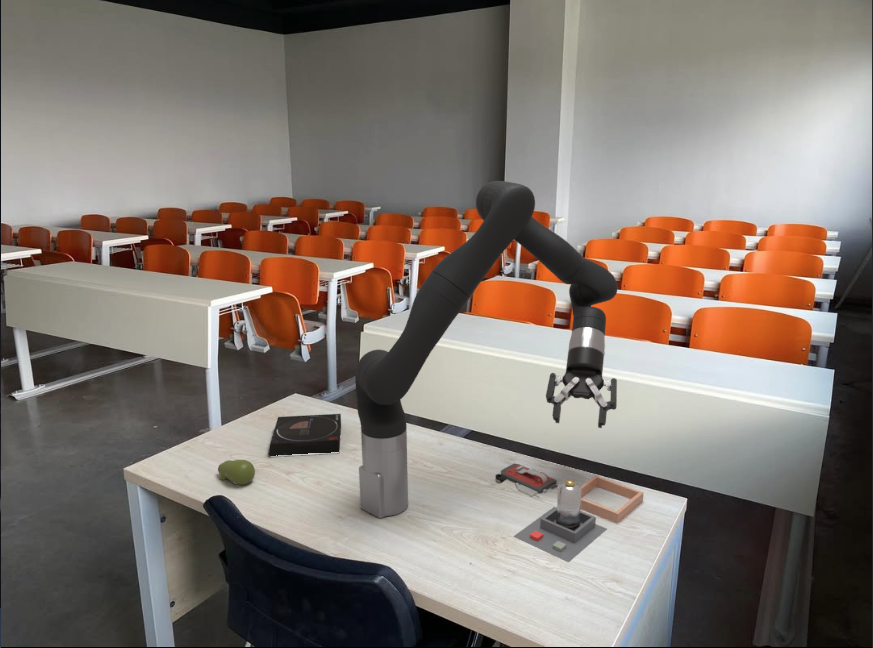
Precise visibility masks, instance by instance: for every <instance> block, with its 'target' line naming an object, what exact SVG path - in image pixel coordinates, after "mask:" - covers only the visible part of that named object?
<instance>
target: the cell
mask: <svg viewBox="0 0 873 648" xmlns="http://www.w3.org/2000/svg"><path fill="white" fill-rule="evenodd" d="M582 485H583V484H581V482H579V481H578V480H574V479H572V478H567V479H561V480H560V481H558V482H557V500H556V501H557V502H556V503H557V504H556V507H557V518H556V524H559V525H561V526H563V527H566V528H568V529H570V530H573V531H575V530H576V529H577V528H579V527H580V511H581V510H582V509H581V498H582V497H581V491H582Z"/></svg>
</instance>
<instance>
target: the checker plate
mask: <svg viewBox="0 0 873 648" xmlns="http://www.w3.org/2000/svg"><path fill="white" fill-rule="evenodd" d="M556 518H557V506H556V507H555V506H553V507H552V508H551V509H548V511H546V512H545V513H543V514H542V515H541V516H539V517H538V518H536V519H535V520H534V521H532V522H531V523H530V524H528V525H527V526H526V527H524V528H523V529H521V530H520V531H519V532H518V533H516V534H515V535H513V536H512V537H514V538H516V539H518V540H520V541H522V542H524V543H527V544H528V545H531V546H533V547H535V548H537V549H539V550H541V551H543V552H546V553H548V554H550V555H552V556H553V557H556V558H558V559H560V560H563V561H564V562H566V563H570V562H571V561H572V560H573V559H574V558H576V556H578V555H579V554H580V553H581V552H583V551H584V550H585V549H586V548H588V546H589V545H591V544H592V543H594V541H595V540H596V539H598V538H599V537H600V536H601V535H602V534H603V533H605V532H606V531H607V530H608V528H606V527H603V526H602V525H599V524H597V523H596V520H597V517H596V516H594V515H593V514H589V513H588V512H585V511H583V510H580V527H579V528H577V529H576V530H575V531H573V530H570V529H568V528H566V527H563V526H561V525H559V524H556Z"/></svg>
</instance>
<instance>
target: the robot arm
mask: <svg viewBox="0 0 873 648" xmlns="http://www.w3.org/2000/svg"><path fill="white" fill-rule="evenodd" d="M475 207H476V210H477V211H476V212H477V213H478V215H479V217H480V218H481V219H482V220H483V222H482V223H481V225H480V226H479V228H478V229H477V230H476V231H475V232H474V233H473V234H472V236H471V237H470V238H468V239H467V240H466V241H465V242H464V243H463V244H461V245H460V246H459V247H456V248H455V250H453V251H451V252H450V253H449V254H448V255H446V256H445V257H444V258H443V259H441V260H440V261H439V262H438V263H437V264H436V266H434V268H433V269H432V270H431V272H430V273H429V275H428V276H427V278H426V279H425V280H424V282H423V283H422V285H421V286H420V287H419V289H418V290H417V293H416V294H415V297H414V299H413V303H412V305H411V308H410V311H409V314H408V318H407V322H406V325H405V326H404V329H403V331H402V333H400V336H399V337H398V339H397V340H396V341H395V343H394V344H393V345H392V347H391V349H389V351H387V350H385V349H373V350H370V351H368V352H366V353H364V354H363V356H362V357H360V359H359V361H358V363H357V364H356V368H355V375H354V376H355V377H354V378H355V383H354V384H355V396H356V397H355V398H356V409H357V415H358V418H359V422H360V431H361V432H360V436H361V437H360V438H361V461H362V463H361V464H362V465H360V466H359V467H358V481H359V482H358V483H359V502H360V509H361V510H364V511H365V512H367V513H369V514H371V515H373V516H375V517H376V518H379V519H382V518H384V517H389V516H391V517H392V516H394V515H395V516H396V515H399V514H401V513H403V512H404V511H405V510H406V509H407V507H408V506H409V481H408V477H409V476H408V473H409V472H408V443H407V442H408V437H407V434H408V431H407V417H406V413H405V411H404V408H403V405H402V399H403V398H404V397H405V396H406V395H407V393H408V392H409V391H410V389H411V387H412V385H413V384H414V382H415V380H416V379H417V377H418V376H419V373H420V372H421V371H422V368H423V366H424V364H425V363H426V360H427V359H428V358H429V356H430V354H431V353H432V351H433V350H434V348H435V347H436V346H437V345H438V343H439V341H440V340H441V338H442V337H443V336H444V335H445V333H446V331H447V330H448V328H449V327H450V325H452V323H453V321H454V320H455V319H456V317H457V316H458V315H459V314H460V312H462V310H463V308H464V307H465V306H466V304H467V303H468V301H469V299H471V297H472V295H473V294H474V293H475V291H476V289H477V288H478V286H479V285H480V284H481V282H482V281H483V280H484V278H485V277H486V276H487V274H488V272H490V270H491V268H492V267H493V266H494V264H495V263H496V262H497V260H498V259H499V258H500V257H501V255H502V254H503V252H504V251H506V249H507V248H508V247H509V246H510V245H511V244H512V242H514V241H515V242H517V243H518V244H519V245H520V246H521V247H523V248H524V249H525V250H526V251H528V253H530V255H532V256H534V258H535V259H537V261H539V262H540V263H541V264H542V265H543V266H544V267H545V268H546V269H547V270H548V271H549V272H551V273H552V274H553V275H554V276H555V277H556V278H557V279H559V280H560V282H562V283H564V284H566V285H569V289H568V294H569V299H570V303H571V304H570V305H571V309H572V310H571V311H572V316H573V317H572V318H573V321H572V327H571V335H570V339H569V343H568V351H567V360H566V367H565V372H564V375H557V374H556V373H555V372H551V373H550V375H549V379H548V383H547V387H546V393H545V399H546V403H548V404H552V406H553V407H552V415H551V416H552V419H553V421H555V424H560V419H561V413H562V412H561V411H562V405H563V404H564V403H565V402H566V401H568V400H569V399H571V397H573V398H574V399H581V398H582V399H584V400H590V399H592V400H593V401H594V402H595V403H596V404H597V405H598V407H599V408H598V409H599V410H598V411H599V412H598V420H597V421H598V422H597V428H598V429H602V428H603V426H606V424H607V423H606V422H607V413H608V411H610V410H613V411H615V410H616V409H617V403H618V402H617V400H618V399H617V398H618V397H617V396H618V392H617V389H618V380H617V379H616V378H615V377H613V378H611V379H604V378H603V371H604V361H605V360H604V358H605V354H606V352H605V349H606V344H605V343H606V341H605V337H606V336H605V335H606V323H607V317H606V316H607V315H606V313H605V312H604V311H603V309H602V308H598V307H596V306H594V305H598V304H601V303H605V302H608V301H611V300H612V299H614V298H615V297H616V296H617V293H618V290H619V289H618V282H617V280H616V278H615V276H614V275H613V274H612V272H611V271H609V270H608V269H607V268H605V267H603V266H602V265H600V264H599V263H598V264H597V263H596V262H593V261H592V260H590V259H588V258H585V257H584V256H582V254H581V253H580V252H578V250H577V249H576V248H575V247H573V246H572V245H571V244H570V242H568V241H567V240H566V239H565V238H563V237H562V236H560V235H559V234H557V233H555V232H554V231H552V229H551V230H550V228H548V227H546V226H545V225H543V224H542V223H540V221H538V220H537V219H536V218H534V217H533V215H534V212H535V210H536V209H535V208H536V200H535V195H534V192H533V191H532V190H531V189H530V188H529V187H528V186H526V185H524V184H521V183H516V182H513V181H512V182H510V181H506V180H494V181H490V182H487V183H486V184H484V185H483V186H482V187H481V188H480V189H479V191H478V192H477V195H476V199H475ZM561 383H563V386H564V387H563V388H562V389H561V390H560V392H559V393H558V394H557V395H556V396H555V395H554V394H555V390H556V387H558V386H559V385H560V384H561ZM603 387H606V390H607V391H609V392H610V399H609V400H608V401H606V400H605V398H604V397H603V395H602V393H601V392H600V391H601V389H603Z"/></svg>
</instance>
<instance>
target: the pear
mask: <svg viewBox="0 0 873 648" xmlns="http://www.w3.org/2000/svg"><path fill="white" fill-rule="evenodd" d="M217 467H218V468H217V472H218V476H219V479H220V480H222V479H224V480H227V479H228V480H230V481H231V482H232V483H234V484H236V485H239V486H243V485H247V484H249V483H250V482H252V481H253V479H254V478H255V475H256V469H255V467H254V465H253V464H252V462H251V461H249V460H246V459H234V460H226V461H224V462H221V463H220V464H219V465H218V466H217Z"/></svg>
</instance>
